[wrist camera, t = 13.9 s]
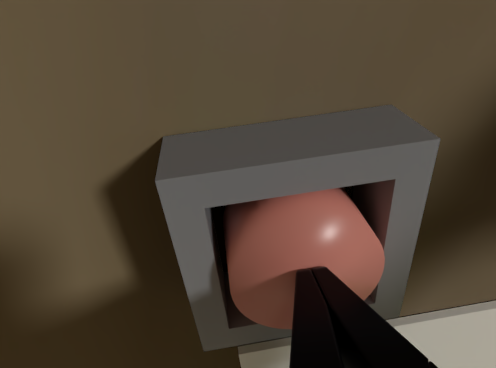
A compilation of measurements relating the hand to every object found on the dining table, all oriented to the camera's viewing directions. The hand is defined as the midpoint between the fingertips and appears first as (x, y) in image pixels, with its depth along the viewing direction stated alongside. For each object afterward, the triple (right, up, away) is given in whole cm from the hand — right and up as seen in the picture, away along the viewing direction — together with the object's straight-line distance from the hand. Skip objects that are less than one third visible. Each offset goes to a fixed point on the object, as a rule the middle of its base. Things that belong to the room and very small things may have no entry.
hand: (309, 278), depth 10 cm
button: (0, +1, +2) cm, 3 cm away
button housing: (0, +2, +3) cm, 3 cm away
